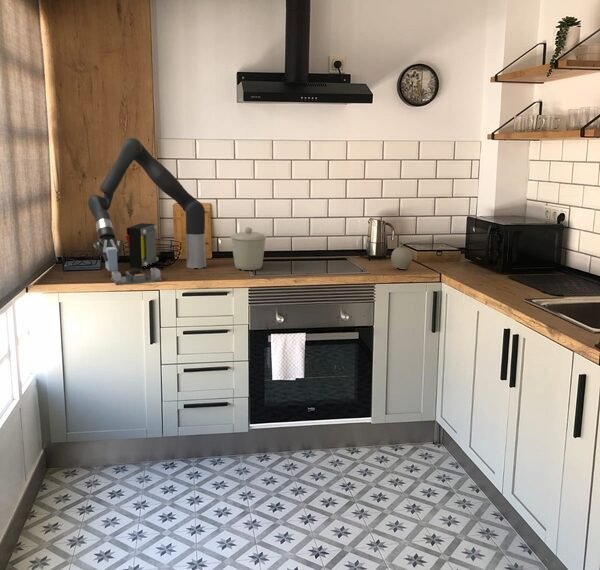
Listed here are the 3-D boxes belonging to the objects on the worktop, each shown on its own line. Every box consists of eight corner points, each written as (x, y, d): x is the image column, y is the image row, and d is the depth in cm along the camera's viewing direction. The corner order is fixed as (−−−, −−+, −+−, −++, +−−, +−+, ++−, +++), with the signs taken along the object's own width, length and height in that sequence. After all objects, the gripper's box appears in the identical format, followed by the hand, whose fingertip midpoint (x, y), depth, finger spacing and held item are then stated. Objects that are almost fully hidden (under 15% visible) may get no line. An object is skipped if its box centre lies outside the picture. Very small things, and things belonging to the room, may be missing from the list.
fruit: (405, 266, 365) (407, 238, 361) (414, 271, 354) (416, 241, 350) (386, 267, 362) (388, 238, 359) (395, 271, 351) (396, 242, 348)
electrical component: (145, 268, 349) (144, 228, 345) (126, 267, 351) (125, 227, 347) (159, 262, 366) (158, 224, 362) (141, 261, 368) (140, 223, 363)
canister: (231, 265, 360) (230, 224, 356) (266, 265, 362) (266, 224, 357) (229, 272, 343) (229, 229, 338) (266, 272, 344) (266, 230, 339)
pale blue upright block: (105, 267, 330) (104, 246, 328) (114, 267, 332) (112, 246, 330) (109, 271, 323) (107, 249, 321) (117, 270, 325) (116, 249, 323)
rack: (110, 279, 323) (110, 270, 322) (155, 276, 333) (155, 266, 332) (116, 285, 313) (115, 275, 312) (162, 281, 322) (162, 271, 321)
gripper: (90, 226, 327) (97, 256, 319) (121, 224, 333) (128, 254, 325) (89, 236, 332) (95, 266, 325) (119, 234, 339) (126, 263, 331)
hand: (112, 260), depth 325 cm, fingers closed on pale blue upright block, 4 cm apart
